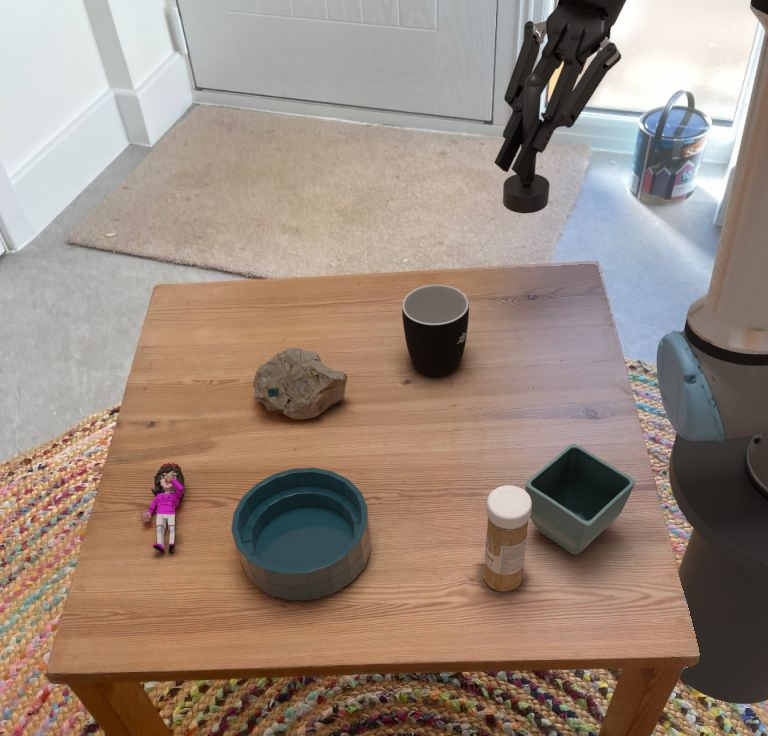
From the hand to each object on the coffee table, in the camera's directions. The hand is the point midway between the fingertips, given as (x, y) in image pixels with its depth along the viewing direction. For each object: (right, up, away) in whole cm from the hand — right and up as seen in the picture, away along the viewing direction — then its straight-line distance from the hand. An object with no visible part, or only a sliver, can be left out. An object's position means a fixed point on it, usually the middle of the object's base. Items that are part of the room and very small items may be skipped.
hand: (509, 170), depth 106 cm
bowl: (-25, -48, -6) cm, 54 cm away
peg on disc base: (+3, -2, +6) cm, 7 cm away
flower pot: (+6, -46, -7) cm, 47 cm away
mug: (-8, -21, +15) cm, 27 cm away
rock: (-27, -29, +10) cm, 41 cm away
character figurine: (-43, -44, -2) cm, 61 cm away
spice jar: (-2, -51, -11) cm, 52 cm away
